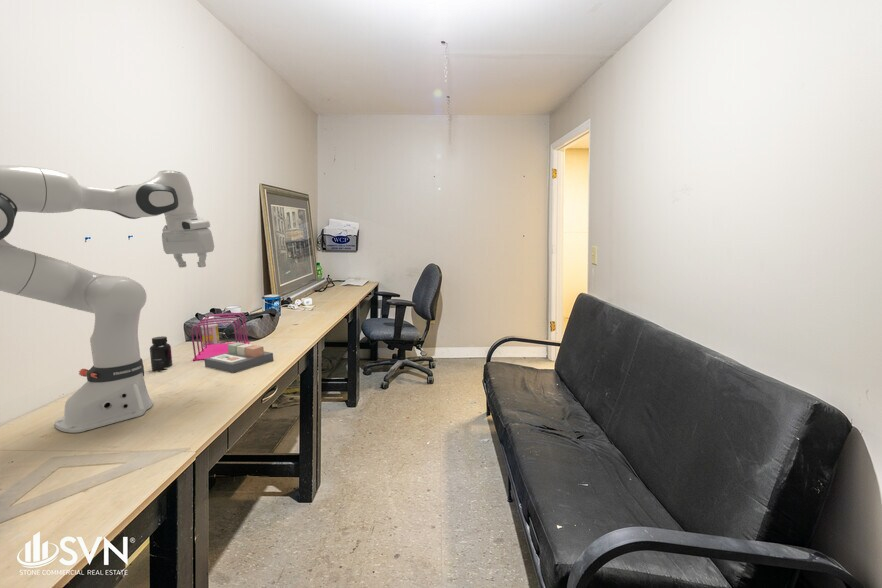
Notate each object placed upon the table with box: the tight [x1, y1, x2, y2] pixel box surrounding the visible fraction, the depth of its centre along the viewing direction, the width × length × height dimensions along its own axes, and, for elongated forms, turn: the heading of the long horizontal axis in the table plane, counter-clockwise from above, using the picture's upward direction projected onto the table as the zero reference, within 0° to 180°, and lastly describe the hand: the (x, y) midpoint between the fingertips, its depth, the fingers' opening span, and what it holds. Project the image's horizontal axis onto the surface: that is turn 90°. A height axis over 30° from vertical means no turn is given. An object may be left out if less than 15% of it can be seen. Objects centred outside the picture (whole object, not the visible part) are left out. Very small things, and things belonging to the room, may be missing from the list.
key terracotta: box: [246, 344, 265, 358], centre depth 174 cm, size 4×4×4 cm
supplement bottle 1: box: [149, 335, 173, 372], centre depth 174 cm, size 7×7×12 cm
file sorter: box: [190, 312, 251, 362], centre depth 194 cm, size 17×25×16 cm
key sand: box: [237, 343, 255, 356], centre depth 177 cm, size 4×4×4 cm
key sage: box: [228, 341, 245, 354], centre depth 180 cm, size 4×4×4 cm
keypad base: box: [203, 350, 274, 374], centre depth 175 cm, size 17×17×4 cm
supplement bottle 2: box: [200, 316, 220, 347], centre depth 209 cm, size 7×7×13 cm
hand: (192, 267), depth 150 cm, fingers open, 8 cm apart
